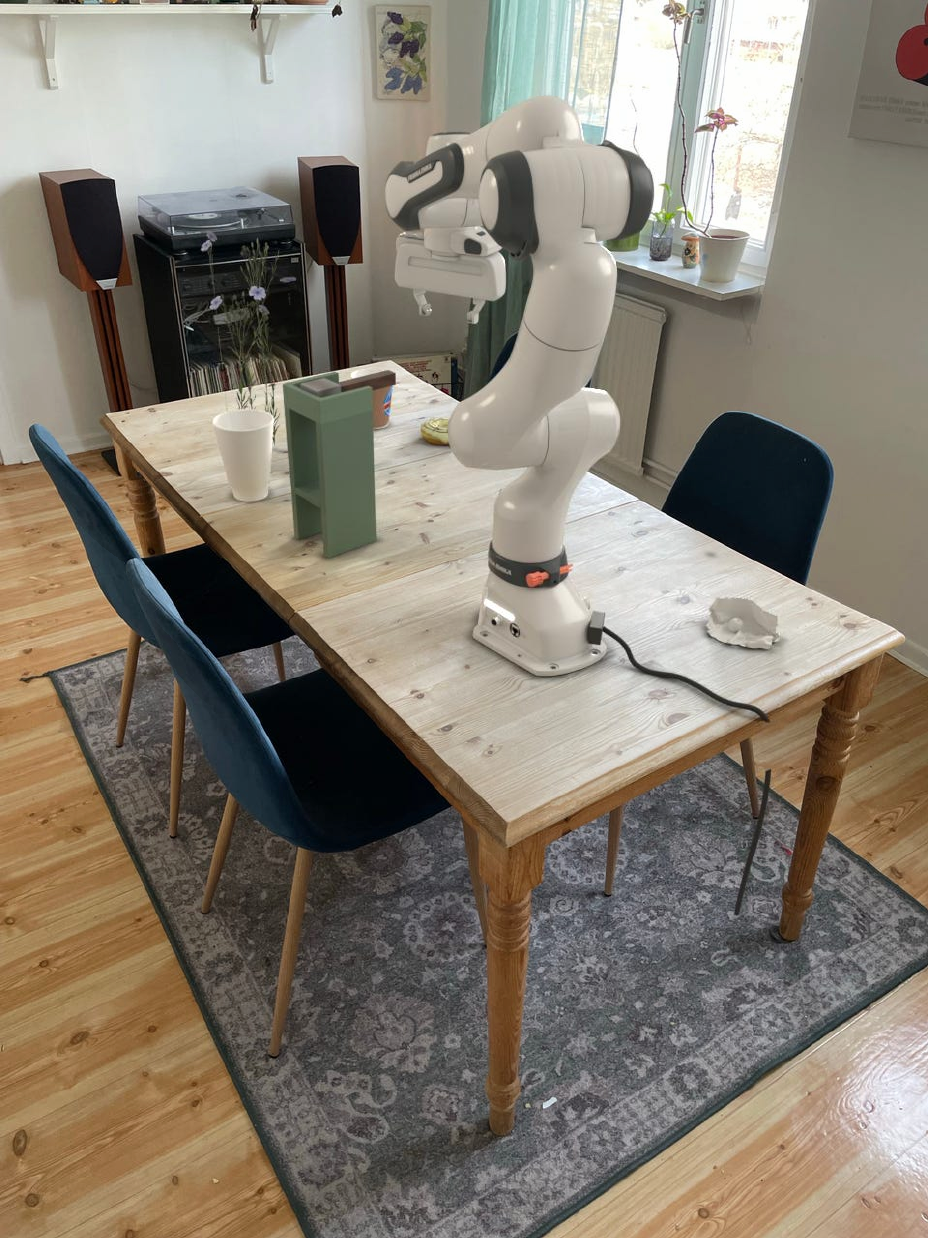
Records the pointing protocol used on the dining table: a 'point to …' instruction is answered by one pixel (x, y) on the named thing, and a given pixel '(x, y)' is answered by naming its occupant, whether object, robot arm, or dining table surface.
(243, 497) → the cup
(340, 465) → the stand
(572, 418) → the robot arm
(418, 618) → the dining table surface
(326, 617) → the dining table surface
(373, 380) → the mallet
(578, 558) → the dining table surface
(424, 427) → the decorated donut
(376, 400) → the coffee cup
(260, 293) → the wildflower
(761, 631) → the jagged white shell
